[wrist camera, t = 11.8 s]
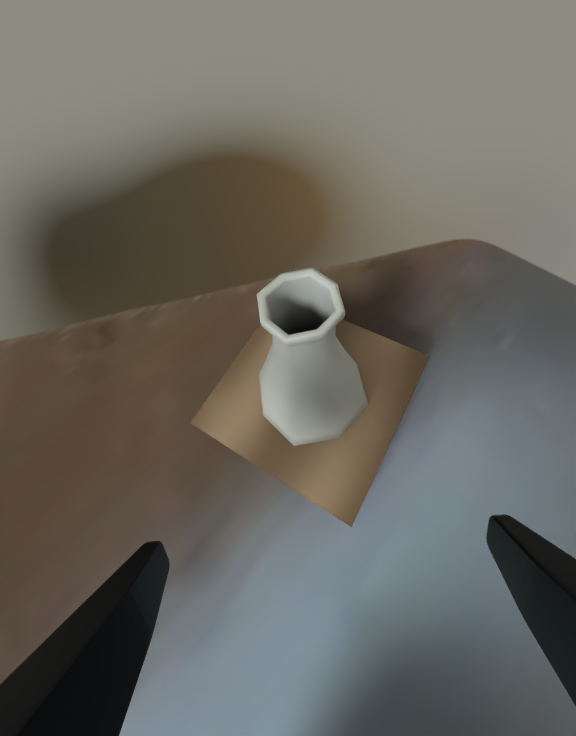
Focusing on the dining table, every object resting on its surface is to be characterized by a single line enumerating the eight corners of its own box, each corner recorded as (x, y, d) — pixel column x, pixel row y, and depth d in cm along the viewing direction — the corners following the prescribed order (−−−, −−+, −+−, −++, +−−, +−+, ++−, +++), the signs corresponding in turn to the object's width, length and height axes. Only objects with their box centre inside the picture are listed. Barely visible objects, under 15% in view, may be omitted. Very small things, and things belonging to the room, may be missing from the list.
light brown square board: (413, 377, 23) (429, 356, 20) (346, 521, 20) (351, 527, 16) (286, 321, 27) (281, 293, 23) (211, 434, 23) (190, 422, 20)
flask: (330, 328, 21) (334, 205, 12) (388, 411, 18) (449, 331, 9) (242, 373, 21) (178, 278, 12) (288, 466, 18) (250, 438, 9)
